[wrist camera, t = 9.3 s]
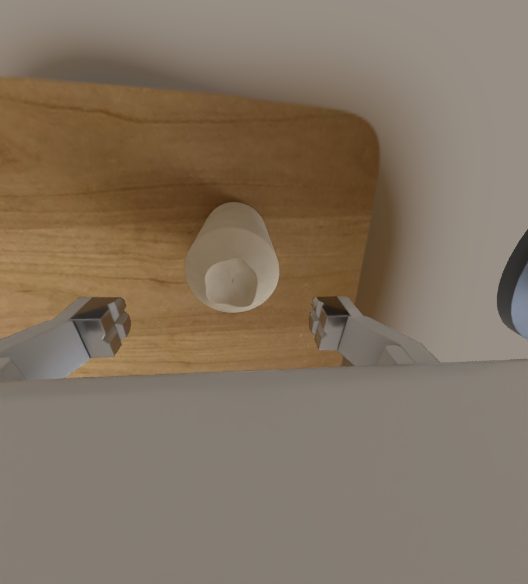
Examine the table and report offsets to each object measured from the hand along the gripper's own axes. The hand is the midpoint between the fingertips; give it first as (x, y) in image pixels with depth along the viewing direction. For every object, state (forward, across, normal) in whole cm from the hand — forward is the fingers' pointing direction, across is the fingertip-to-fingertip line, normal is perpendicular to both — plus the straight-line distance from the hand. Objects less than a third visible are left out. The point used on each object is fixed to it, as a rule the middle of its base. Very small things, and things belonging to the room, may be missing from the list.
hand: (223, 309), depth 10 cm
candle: (+12, 0, 0) cm, 12 cm away
